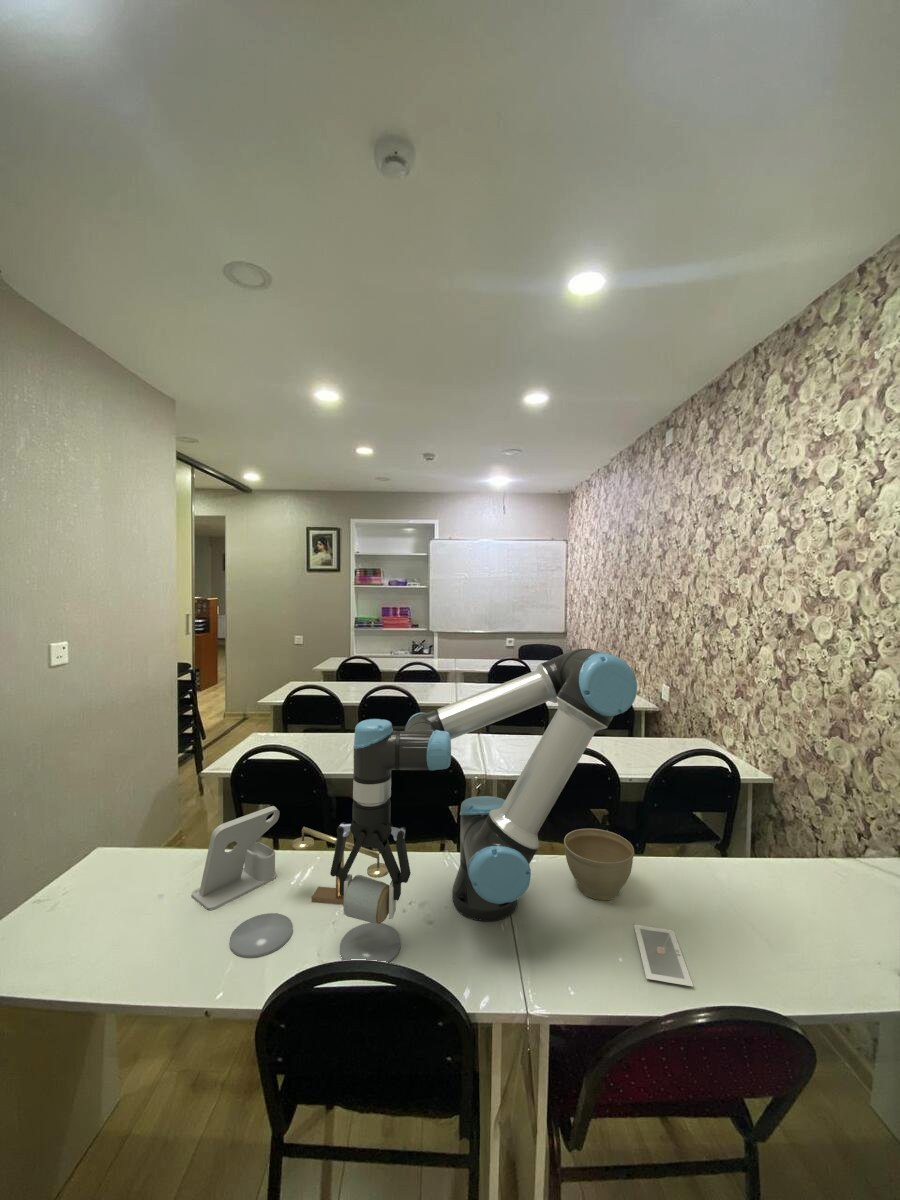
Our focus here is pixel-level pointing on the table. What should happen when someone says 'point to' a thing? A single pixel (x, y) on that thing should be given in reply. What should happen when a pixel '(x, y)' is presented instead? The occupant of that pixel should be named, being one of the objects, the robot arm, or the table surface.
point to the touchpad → (662, 955)
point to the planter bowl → (599, 861)
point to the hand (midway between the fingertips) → (369, 912)
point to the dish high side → (261, 935)
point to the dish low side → (371, 943)
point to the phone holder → (237, 860)
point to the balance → (333, 894)
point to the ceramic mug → (367, 900)
